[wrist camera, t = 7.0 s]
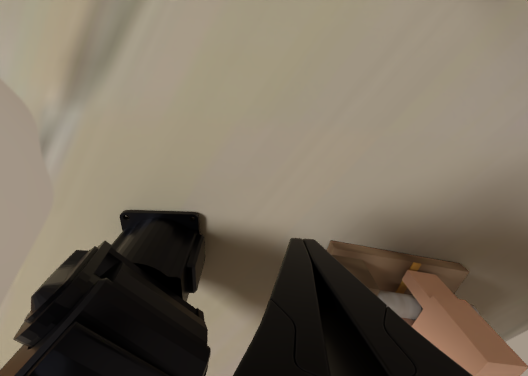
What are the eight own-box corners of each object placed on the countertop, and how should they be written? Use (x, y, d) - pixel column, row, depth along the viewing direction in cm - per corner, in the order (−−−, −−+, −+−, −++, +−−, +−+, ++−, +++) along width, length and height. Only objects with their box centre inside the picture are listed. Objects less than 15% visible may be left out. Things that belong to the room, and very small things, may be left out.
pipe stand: (310, 290, 26) (321, 333, 22) (330, 240, 24) (348, 277, 19) (429, 308, 28) (462, 351, 24) (460, 263, 26) (503, 302, 21)
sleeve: (382, 312, 26) (439, 415, 18) (409, 266, 23) (487, 362, 16) (409, 316, 26) (475, 418, 18) (438, 271, 24) (528, 367, 16)
